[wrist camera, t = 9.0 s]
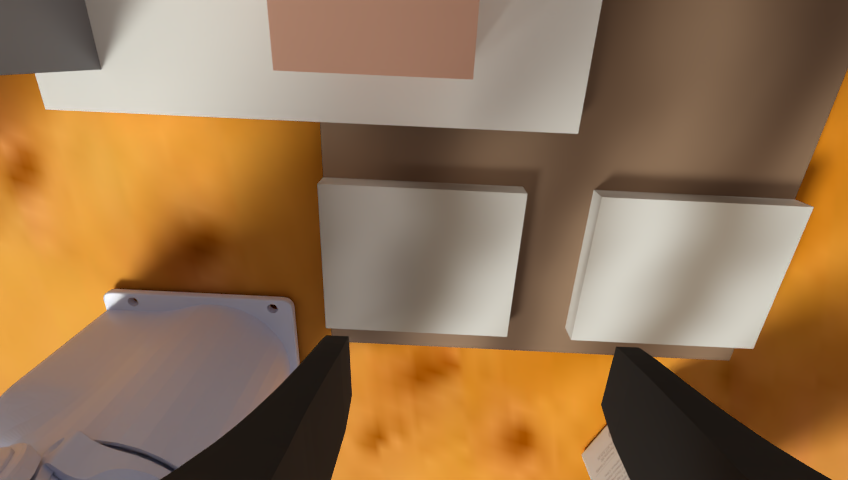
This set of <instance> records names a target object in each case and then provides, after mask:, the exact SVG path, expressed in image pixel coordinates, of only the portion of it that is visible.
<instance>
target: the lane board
mask: <svg viewBox="0 0 848 480" xmlns="http://www.w3.org/2000/svg"><path fill="white" fill-rule="evenodd" d="M847 69H848V0H602V5H601V11H600V16H599V22H598V27H597V33H596V38H595V44H594V49H593V55H592V60H591V66H590V71H589V77H588V82H587V88H586V93H585V99H584V104H583V110H582V115H581V121H580V126H579V132H578V134H569V133H548V132H526V131H504V130H483V129H461V128H439V127H418V126H396V125H374V124H352V123H331V122H320V129H321V147H322V166H323V178H322V179H321V180H320V181H319V182H318V184H317V188H318V205H319V221H320V238H321V255H322V272H323V288H324V305H325V322H326V328H331V333H332V336H349V342H358V343H379V344H399V345H420V346H440V347H461V348H481V349H502V350H523V351H543V352H564V353H584V354H605V355H614V353H615V349H616V347H639V348H641V349H642V350H643V351H645V352H646V353H648V354H649V355H651V356H652V357H666V358H687V359H707V360H728V361H729V360H730V358H731V355H732V353H733V350H734V348H746V349H753V348H754V346H755V343H756V341H757V339H758V336H759V334H760V332H761V329H762V327H763V325H764V322H765V320H766V318H767V315H768V313H769V311H770V308H771V306H772V304H773V301H774V299H775V297H776V294H777V292H778V290H779V287H780V285H781V282H782V280H783V278H784V275H785V273H786V271H787V268H788V266H789V264H790V261H791V259H792V257H793V254H794V252H795V250H796V247H797V245H798V243H799V240H800V238H801V236H802V233H803V231H804V229H805V226H806V224H807V222H808V219H809V217H810V215H811V212H812V210H813V208H814V207H812V206H810V205H807V204H805V203H802V202H800V201H798V200H795V197H796V195H797V192H798V190H799V187H800V185H801V183H802V180H803V178H804V175H805V173H806V170H807V168H808V165H809V163H810V160H811V158H812V155H813V153H814V150H815V148H816V146H817V143H818V141H819V138H820V136H821V133H822V131H823V128H824V126H825V123H826V121H827V118H828V116H829V113H830V111H831V108H832V106H833V104H834V101H835V99H836V96H837V94H838V91H839V89H840V86H841V84H842V81H843V79H844V76H845V74H846V71H847Z"/></svg>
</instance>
